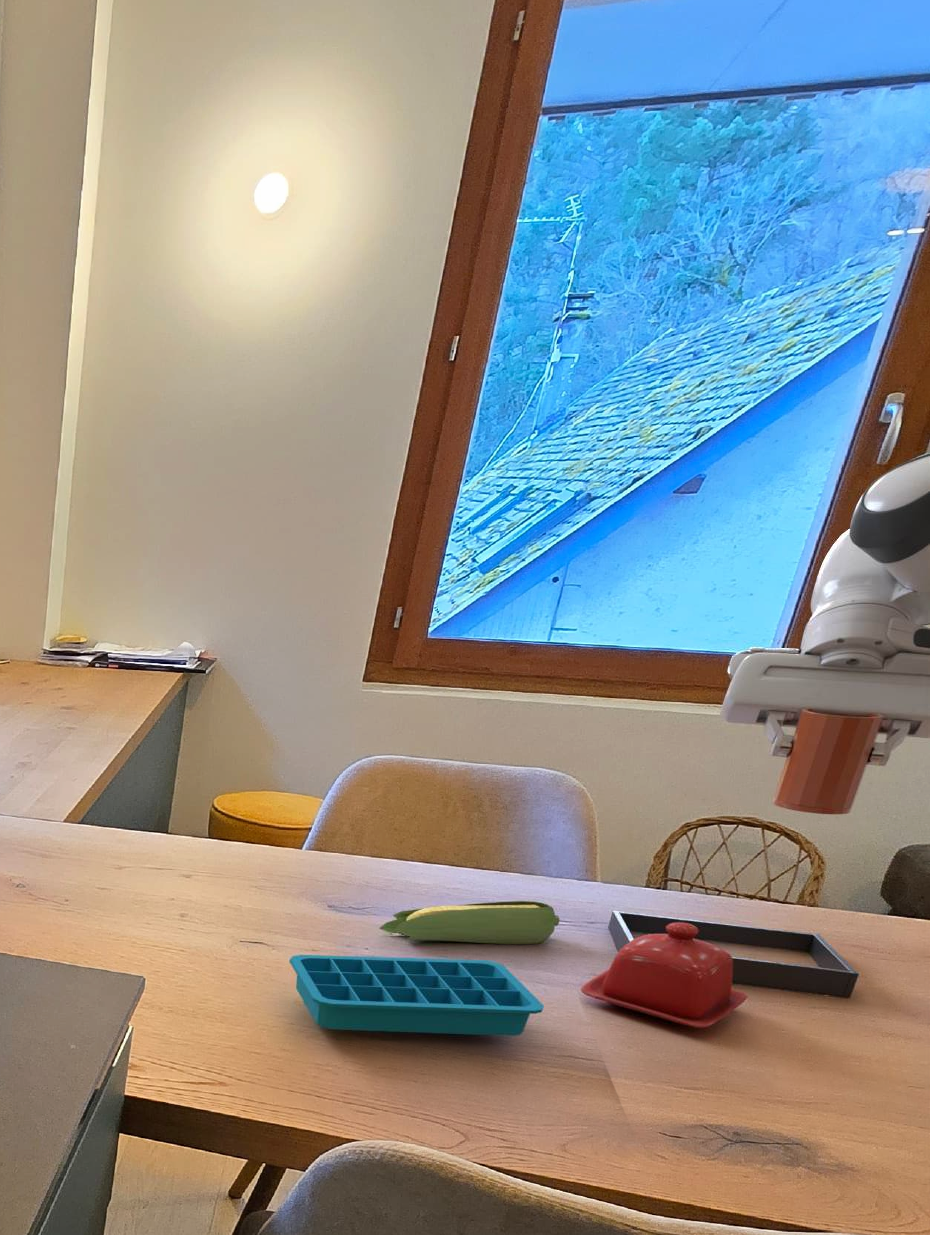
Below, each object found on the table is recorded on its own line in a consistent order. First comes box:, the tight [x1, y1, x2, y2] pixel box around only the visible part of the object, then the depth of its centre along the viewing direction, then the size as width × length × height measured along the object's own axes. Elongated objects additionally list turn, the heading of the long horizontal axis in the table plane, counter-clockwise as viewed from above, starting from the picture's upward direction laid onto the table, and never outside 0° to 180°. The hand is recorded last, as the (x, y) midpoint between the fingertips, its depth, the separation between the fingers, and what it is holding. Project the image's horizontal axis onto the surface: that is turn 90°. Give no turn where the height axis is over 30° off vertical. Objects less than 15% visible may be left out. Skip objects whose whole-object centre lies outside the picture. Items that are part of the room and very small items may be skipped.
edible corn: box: [378, 900, 560, 945], centre depth 133 cm, size 5×20×5 cm, turn 88°
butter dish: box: [580, 922, 748, 1029], centre depth 114 cm, size 12×12×8 cm
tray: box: [607, 910, 860, 999], centre depth 126 cm, size 19×13×3 cm
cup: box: [772, 708, 884, 815], centre depth 124 cm, size 7×7×10 cm
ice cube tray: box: [289, 954, 545, 1037], centre depth 113 cm, size 12×20×3 cm, turn 83°
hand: (828, 757), depth 124 cm, fingers closed on cup, 7 cm apart
